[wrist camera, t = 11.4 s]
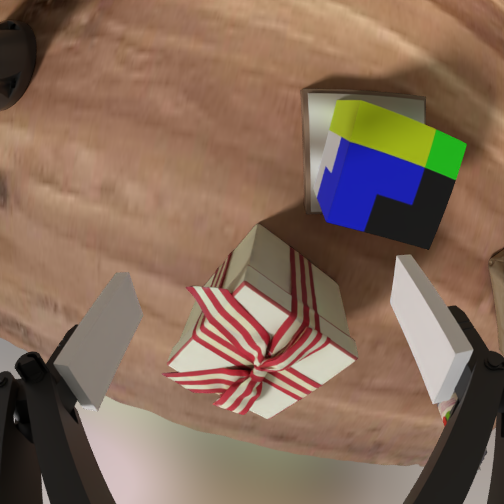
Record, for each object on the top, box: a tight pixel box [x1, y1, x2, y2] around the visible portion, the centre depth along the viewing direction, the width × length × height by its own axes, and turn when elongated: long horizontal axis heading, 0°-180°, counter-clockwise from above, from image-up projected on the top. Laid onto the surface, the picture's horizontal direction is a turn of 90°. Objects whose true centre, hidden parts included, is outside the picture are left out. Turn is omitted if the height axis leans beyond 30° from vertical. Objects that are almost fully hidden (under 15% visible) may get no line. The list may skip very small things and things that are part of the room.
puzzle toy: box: [313, 100, 467, 250], centre depth 27 cm, size 10×10×10 cm
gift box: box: [162, 224, 358, 419], centre depth 37 cm, size 17×18×17 cm
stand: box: [300, 89, 426, 214], centre depth 34 cm, size 14×14×4 cm
